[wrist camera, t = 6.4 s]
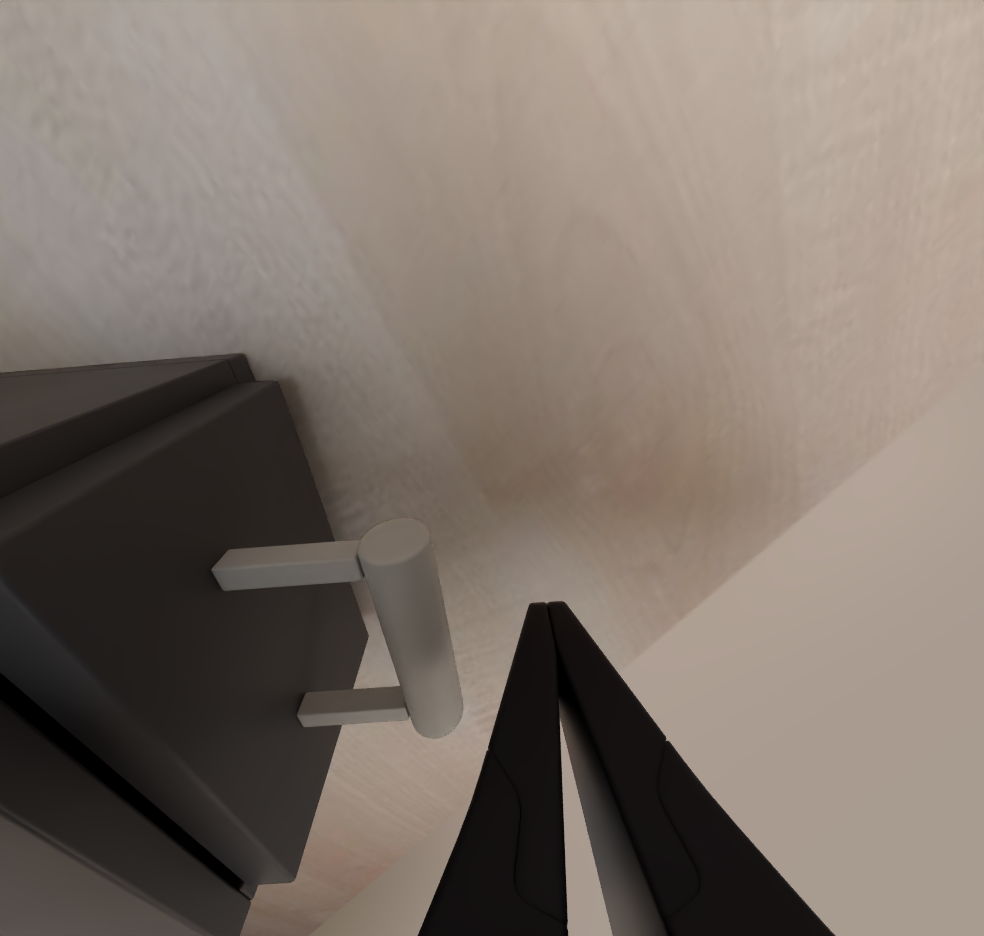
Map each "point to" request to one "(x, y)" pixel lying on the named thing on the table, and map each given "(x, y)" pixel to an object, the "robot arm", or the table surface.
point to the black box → (46, 766)
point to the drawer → (213, 626)
